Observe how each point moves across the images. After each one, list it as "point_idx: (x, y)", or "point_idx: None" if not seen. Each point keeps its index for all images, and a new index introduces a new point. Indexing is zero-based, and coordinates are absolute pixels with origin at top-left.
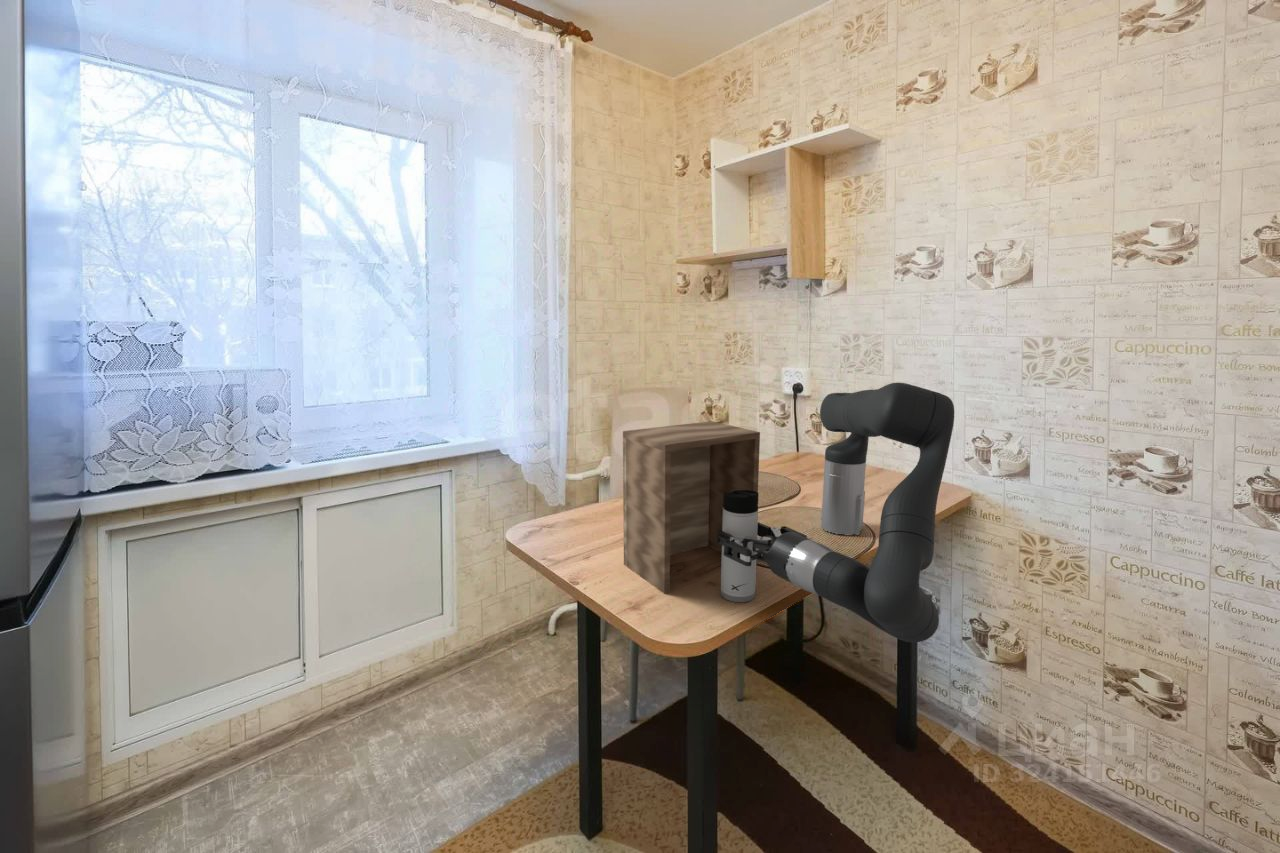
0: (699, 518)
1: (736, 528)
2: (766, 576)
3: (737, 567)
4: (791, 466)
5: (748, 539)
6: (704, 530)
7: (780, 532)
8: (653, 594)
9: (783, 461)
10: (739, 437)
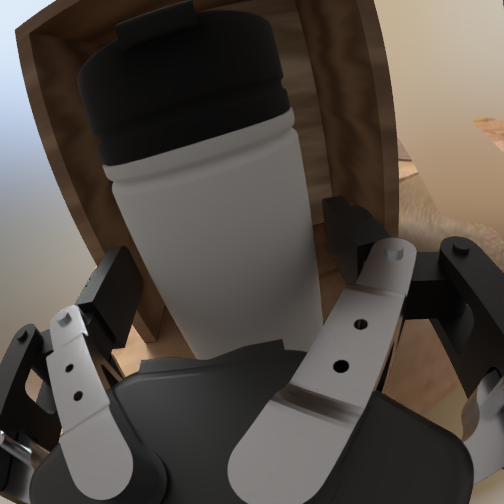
0: (306, 171)
1: (138, 247)
2: (403, 331)
3: None
4: (482, 125)
5: (52, 374)
6: (322, 193)
7: (385, 354)
8: (130, 338)
9: (474, 120)
10: None
